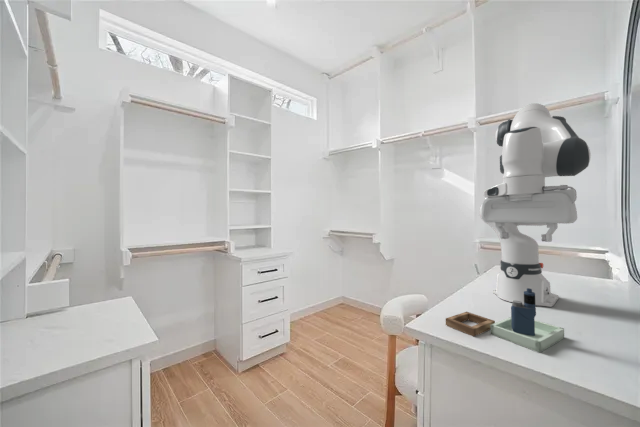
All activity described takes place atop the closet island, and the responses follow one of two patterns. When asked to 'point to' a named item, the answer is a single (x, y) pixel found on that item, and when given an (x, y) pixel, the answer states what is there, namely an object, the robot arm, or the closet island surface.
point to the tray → (541, 341)
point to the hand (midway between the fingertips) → (524, 240)
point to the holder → (470, 330)
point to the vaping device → (524, 314)
